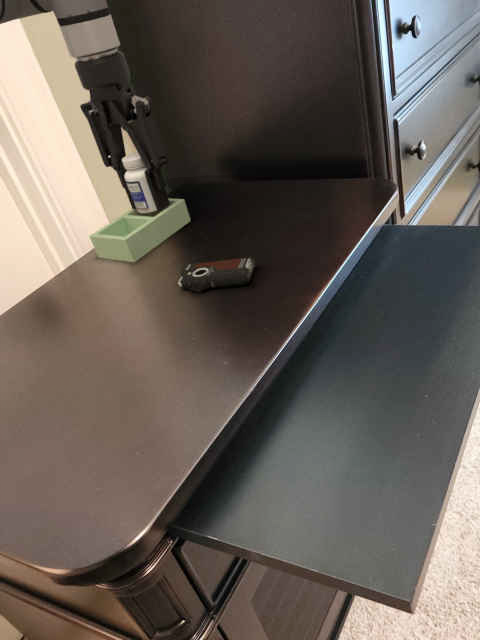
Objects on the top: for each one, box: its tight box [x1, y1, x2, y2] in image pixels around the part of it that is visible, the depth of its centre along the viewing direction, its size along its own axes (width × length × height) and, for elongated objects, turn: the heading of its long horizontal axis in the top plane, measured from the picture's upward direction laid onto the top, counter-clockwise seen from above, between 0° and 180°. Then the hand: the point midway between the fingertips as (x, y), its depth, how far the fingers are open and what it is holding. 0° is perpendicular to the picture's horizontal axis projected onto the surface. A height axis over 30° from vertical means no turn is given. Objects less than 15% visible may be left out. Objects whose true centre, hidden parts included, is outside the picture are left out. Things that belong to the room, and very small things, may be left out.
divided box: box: [89, 197, 192, 263], centre depth 93 cm, size 8×16×4 cm, turn 152°
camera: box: [177, 256, 256, 293], centre depth 77 cm, size 6×3×11 cm
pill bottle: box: [122, 152, 157, 213], centre depth 91 cm, size 5×5×9 cm
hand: (151, 206), depth 94 cm, fingers closed on pill bottle, 5 cm apart
